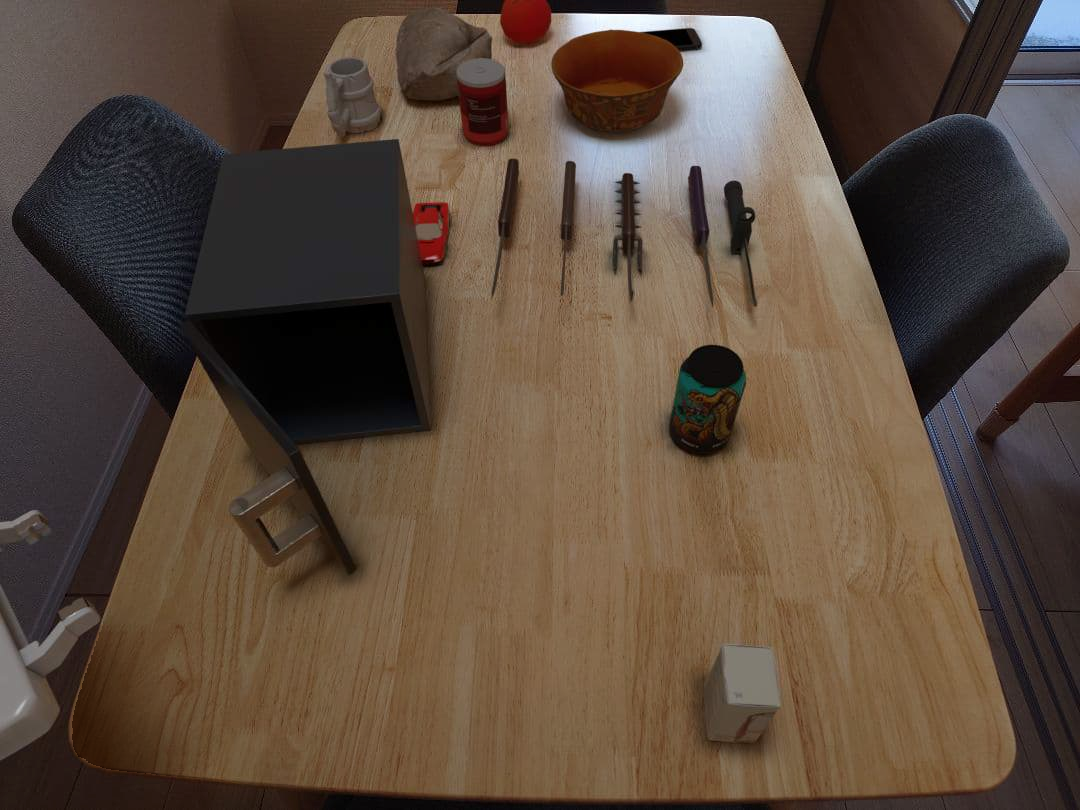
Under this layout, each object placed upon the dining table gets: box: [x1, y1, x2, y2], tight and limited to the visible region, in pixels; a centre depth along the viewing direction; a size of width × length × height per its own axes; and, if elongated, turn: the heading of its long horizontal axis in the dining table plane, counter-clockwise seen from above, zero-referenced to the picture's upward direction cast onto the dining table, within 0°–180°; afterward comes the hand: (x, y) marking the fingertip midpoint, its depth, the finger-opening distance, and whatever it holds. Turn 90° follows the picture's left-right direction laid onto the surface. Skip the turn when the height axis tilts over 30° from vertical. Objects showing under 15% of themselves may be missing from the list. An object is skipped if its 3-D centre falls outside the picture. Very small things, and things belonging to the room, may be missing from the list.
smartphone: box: [641, 27, 703, 51], centre depth 143 cm, size 7×15×1 cm, turn 97°
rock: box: [395, 6, 493, 102], centre depth 132 cm, size 16×17×15 cm
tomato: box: [499, 0, 552, 44], centre depth 143 cm, size 9×10×8 cm
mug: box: [323, 56, 382, 138], centre depth 124 cm, size 8×12×12 cm, turn 163°
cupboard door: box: [178, 319, 357, 575], centre depth 73 cm, size 7×20×22 cm, turn 42°
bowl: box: [550, 29, 684, 132], centre depth 125 cm, size 21×21×10 cm
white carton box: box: [703, 642, 782, 744], centre depth 65 cm, size 5×4×10 cm
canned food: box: [456, 58, 509, 147], centre depth 122 cm, size 8×8×11 cm
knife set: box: [490, 158, 758, 308], centre depth 104 cm, size 35×33×8 cm
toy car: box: [412, 201, 451, 266], centre depth 109 cm, size 12×5×3 cm, turn 1°
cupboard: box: [184, 138, 432, 446], centre depth 88 cm, size 26×20×22 cm
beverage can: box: [668, 344, 747, 455], centre depth 83 cm, size 7×7×12 cm
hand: (68, 562), depth 55 cm, fingers open, 8 cm apart
